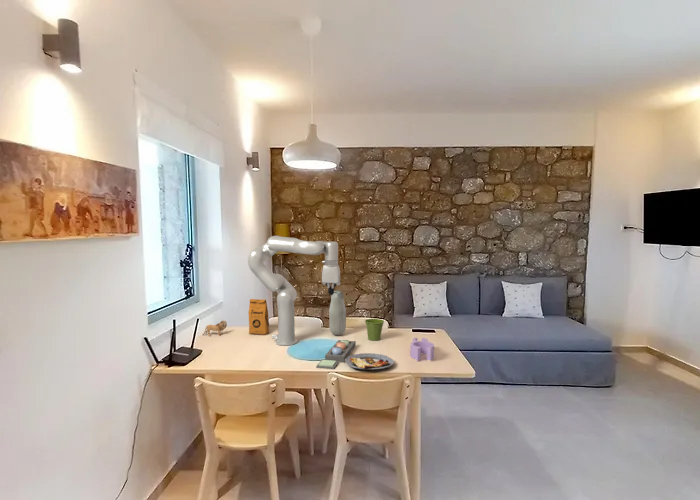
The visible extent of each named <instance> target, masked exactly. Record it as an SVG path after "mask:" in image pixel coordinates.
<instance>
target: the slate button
mask: <svg viewBox="0 0 700 500" xmlns="http://www.w3.org/2000/svg"><path fill="white" fill-rule="evenodd" d="M332 347H333V346H332ZM332 347H331V348H332ZM332 354H333V355H342V348H341V347H333V348H332Z"/></svg>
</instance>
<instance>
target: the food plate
mask: <svg viewBox="0 0 700 500" xmlns="http://www.w3.org/2000/svg"><path fill="white" fill-rule="evenodd" d="M344 363H346V364H347V365H348V366H349V367H351V368H353V369H357V370H363V371H371V370H372V371H373V370H384V369H388V368H389V367H393V366H394V365H395V361H394V359H393V358H391V357H389V356H388V355H386V354H385V355H384V354H379V353H372V352H371V353H369V352H368V353H366V352H363V353H357V354H356V353H355V354H352V355H349V356H348V357H347V358H346V359H345V362H344Z"/></svg>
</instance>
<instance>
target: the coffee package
mask: <svg viewBox="0 0 700 500" xmlns="http://www.w3.org/2000/svg"><path fill="white" fill-rule="evenodd" d="M269 333H270V320H269V310H268V304H267V299H257V298H256V299H255V298H250V299H249V307H248V334H251V335H252V334H253V335H260V336H261V335H263V336H264V335H265V336H266V335H267V334H269Z"/></svg>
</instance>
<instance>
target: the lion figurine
mask: <svg viewBox="0 0 700 500" xmlns="http://www.w3.org/2000/svg"><path fill="white" fill-rule="evenodd" d="M227 326H228V325H227V321H226V320H221V321H220V322H218V323H217V324H213V325H212V324H207V325H206V327H205V329H204V332H203V334H202V336H204V335H206V336H208V337H211V336H212V335H211V334H210V333H211V331H213V332H217V333H218V337H221V336H222V334H221V332H223V331H224V330H225V329H226V328H227Z"/></svg>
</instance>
